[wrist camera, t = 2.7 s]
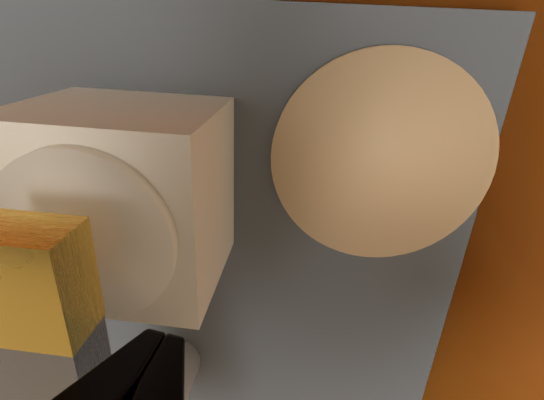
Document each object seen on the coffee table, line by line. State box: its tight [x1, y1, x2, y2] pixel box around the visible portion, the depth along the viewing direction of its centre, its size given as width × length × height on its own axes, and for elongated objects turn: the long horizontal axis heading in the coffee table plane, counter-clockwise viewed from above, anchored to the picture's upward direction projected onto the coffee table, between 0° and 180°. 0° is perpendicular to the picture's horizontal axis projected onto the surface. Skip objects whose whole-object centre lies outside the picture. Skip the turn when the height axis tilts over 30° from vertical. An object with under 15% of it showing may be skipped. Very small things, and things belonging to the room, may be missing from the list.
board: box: [0, 0, 536, 400], centre depth 13 cm, size 19×20×7 cm
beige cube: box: [0, 87, 234, 330], centre depth 12 cm, size 5×5×5 cm
